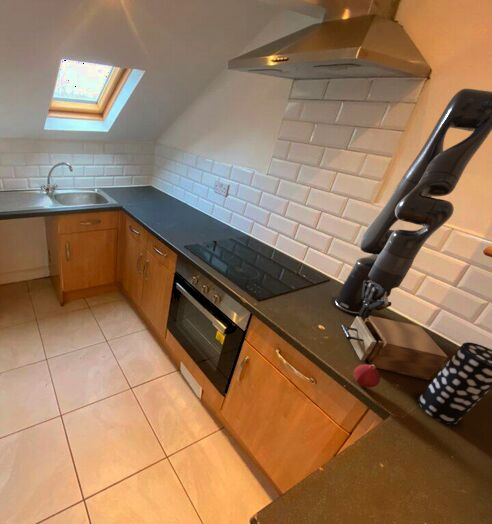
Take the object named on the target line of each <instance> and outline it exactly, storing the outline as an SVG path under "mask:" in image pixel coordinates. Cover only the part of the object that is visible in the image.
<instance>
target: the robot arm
mask: <svg viewBox="0 0 492 524" xmlns="http://www.w3.org/2000/svg"><path fill="white" fill-rule="evenodd" d="M449 129H456V130H461V131H467V132H472V133H470V134H469V135H468V136H467V137H466V138H464V139H463V140H461V141H460V142H458V143H456V144H454V145H452V146H450V147H449V148H446V149H445V150H444V145H445V140H446V139H445V138H446V136H447V132H448V131H449ZM491 133H492V91H490V90H482V89H475V88H462V89H460V90H459V91H457V92H456V93H455V94H454V95H453V97H452V98H451V99H450V100H449V102H448V103H447V105H446V106H445V107H444V110H443V111H442V113H441V114H440V117H439V118H438V120H437V122H436V123H435V125H434V127H433V128H432V130H431V132H430V134H429V136H428V137H427V139H426V141H425V143H424V145H423V146H422V148H421V149H420V151H419V153H418V154H417V155H416V157H415V158H414V160H413V161H412V163H411V165H409V167H408V168H407V170H406V172H405V173H404V174H403V176H402V177H401V179H400V181H399V182H398V183H397V185H396V186H395V188H394V190H393V191H392V193H391V195H390V197H389V198H388V199H387V202H386V203H385V205H384V206H383V207H382V208H381V210H380V211H379V213H378V214H377V215H376V216H375V218H373V220H372V221H371V222H370V224H369V225H368V226H367V228H366V229H365V231H364V232H363V233H362V235H361V238H360V240H359V249H360V250H361V252H363V253H364V254H365V253H366V254H368V255H367V256H363V257H359V258H356V260H355V261H354V263H353V265H352V267H351V269H350V271H349V273H348V275H347V278H346V280H344V282H343V284H342V286H341V288H340V289H339V291H338V294H337V296H336V298H335V300H334V305H335V306H336V307H337V308H338V309H339V310H341V311H342V312H345V313H348V314H351V315H359V317H361V318H362V319H366V318H368V317H369V316H371V314H372V313H373V311H377V312H379V311H382V310H384V309H387V308H390V307H391V306H392V302H391V301H389V298H388V297H390V295H391V294H392V290H394V289H396V288H399V287H400V286H401V284H402V282H403V281H404V279H405V278H406V276H407V274H408V273H409V271H410V269H411V267H412V266H413V264H414V260H415V259H416V257H417V255H418V254H419V252H420V250H421V249H422V247H423V246H424V244H425V243H426V242H427V241H428V239H429V238H430V237H431V236H432V235H433V234H434V233H435V232H436V231H437V230H439V229H440V228H441V227H442V226H444V224H446V223H447V222H448V221H449V220H450V219H451V218H452V216H453V214H454V209H455V207H454V205H453V203H452V202H451V201H449V200H447V199H442V198H439V197H445V196H449V194H451V193H453V191H454V190H455V188H456V187H457V185H458V183H459V181H460V179H461V178H462V175H463V173H464V171H465V170H466V168H467V166H468V164H469V163H470V161H471V160H472V158H473V157H474V156H475V154H476V153H477V152H478V150H479V149H480V148H481V146H482V145H483V144H484V142H485V141H486V140H487V138H488V137H489V135H490V134H491ZM398 221H402V222H406V223H410V224H414V225H417V226H422V227H421V228H419V229H415V230H413V229H412V230H411V229H410V230H409V229H396V230H395V229H391V228H392V227H393V226H394V225H395V224H396V223H397V222H398Z"/></svg>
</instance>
